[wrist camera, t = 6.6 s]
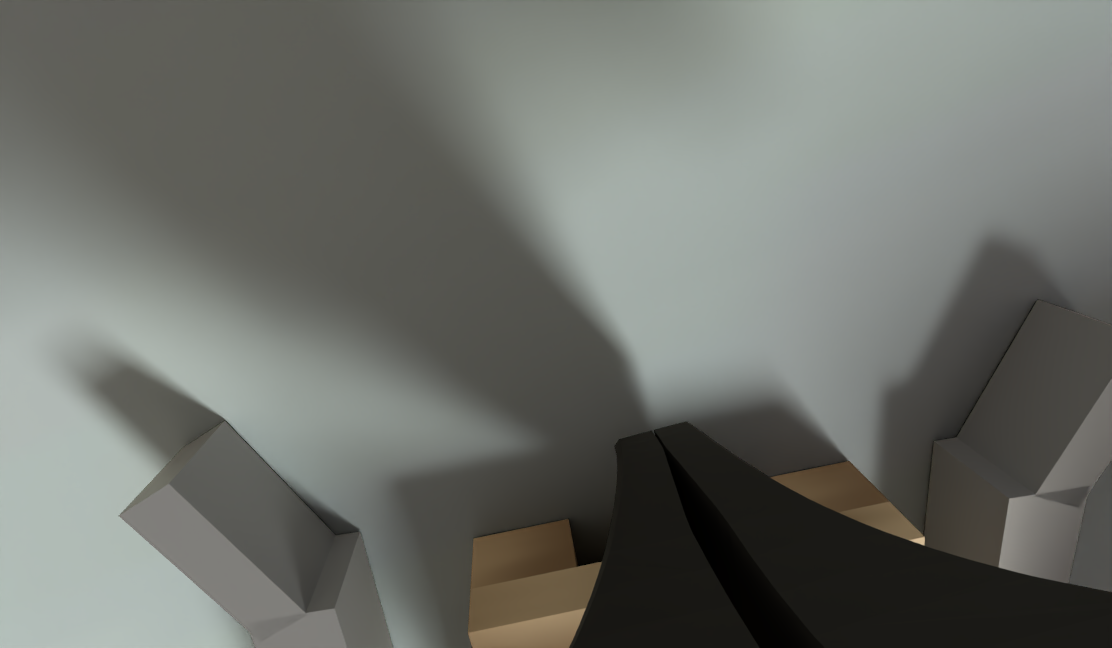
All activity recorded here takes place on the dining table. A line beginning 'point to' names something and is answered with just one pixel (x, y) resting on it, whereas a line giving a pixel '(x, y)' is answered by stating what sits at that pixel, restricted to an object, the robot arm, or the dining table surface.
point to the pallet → (565, 588)
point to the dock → (951, 520)
